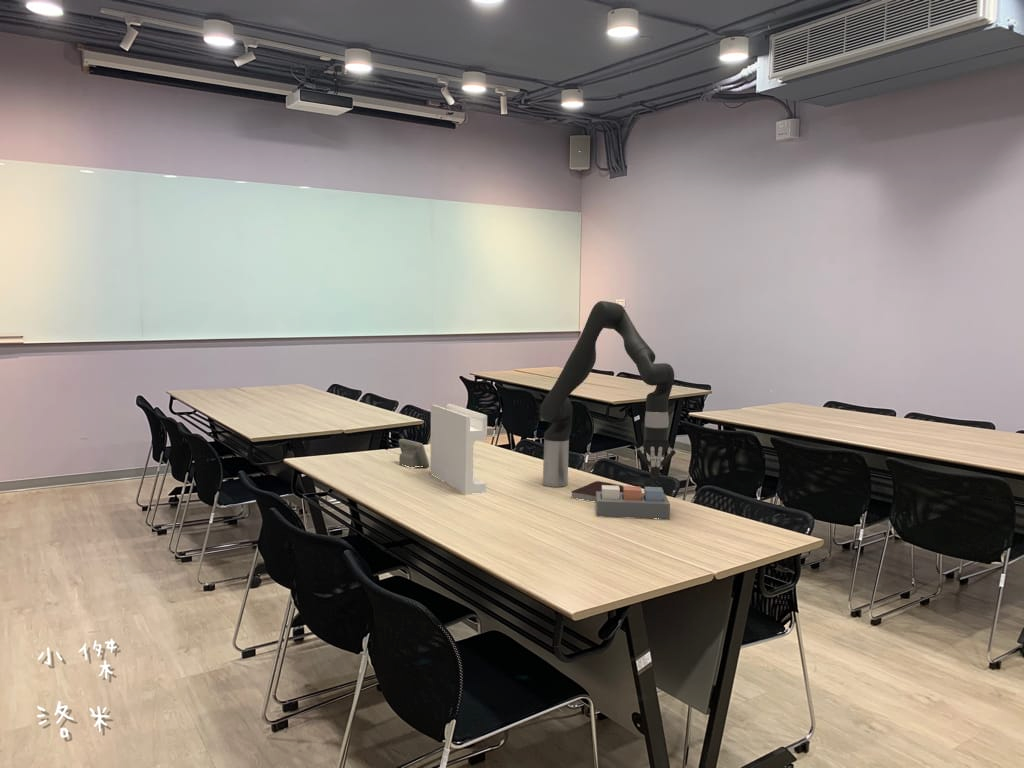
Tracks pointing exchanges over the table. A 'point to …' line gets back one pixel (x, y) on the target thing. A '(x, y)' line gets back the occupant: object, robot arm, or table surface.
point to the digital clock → (412, 454)
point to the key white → (610, 492)
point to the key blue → (653, 494)
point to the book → (591, 490)
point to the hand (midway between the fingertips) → (654, 477)
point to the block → (456, 446)
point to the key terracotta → (632, 493)
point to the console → (632, 507)
